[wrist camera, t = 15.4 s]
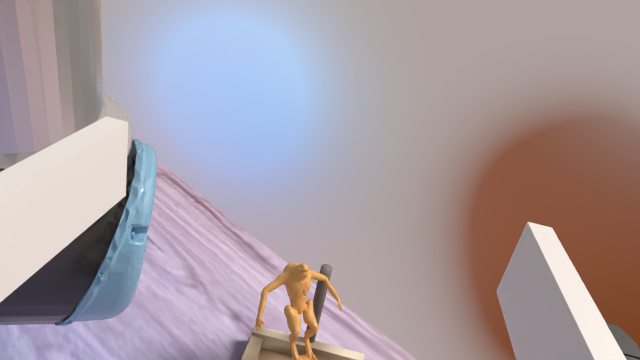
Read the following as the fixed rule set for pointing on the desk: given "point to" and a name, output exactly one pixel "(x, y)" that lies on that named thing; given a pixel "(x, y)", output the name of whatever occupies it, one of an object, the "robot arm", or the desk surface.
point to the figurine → (297, 304)
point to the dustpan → (274, 346)
